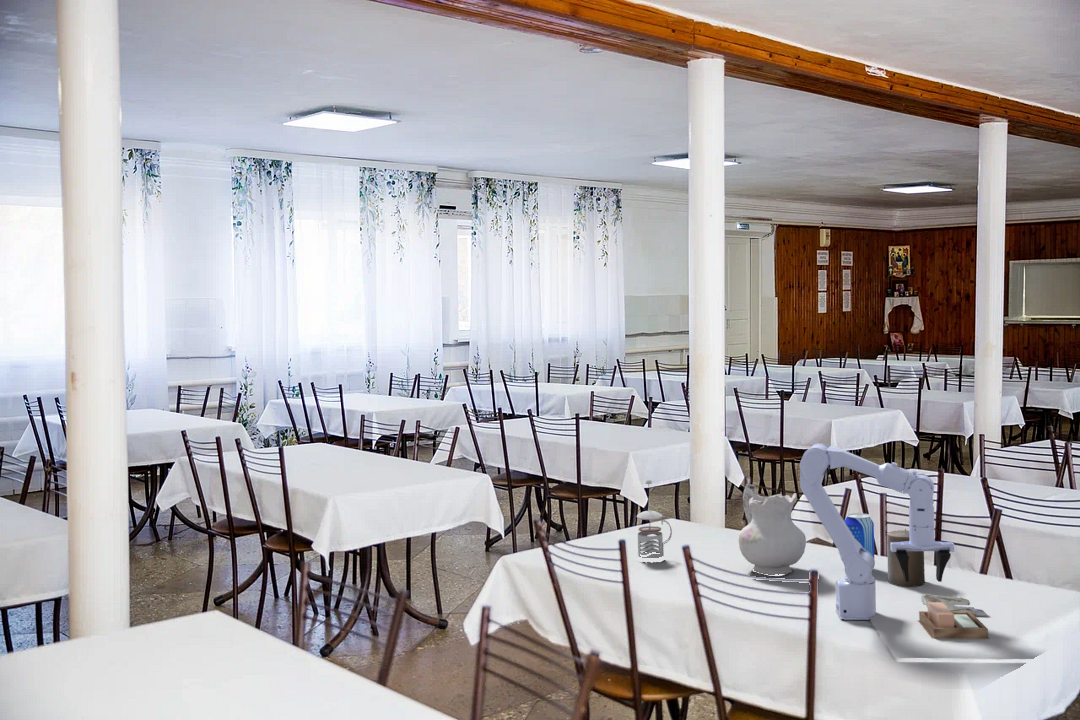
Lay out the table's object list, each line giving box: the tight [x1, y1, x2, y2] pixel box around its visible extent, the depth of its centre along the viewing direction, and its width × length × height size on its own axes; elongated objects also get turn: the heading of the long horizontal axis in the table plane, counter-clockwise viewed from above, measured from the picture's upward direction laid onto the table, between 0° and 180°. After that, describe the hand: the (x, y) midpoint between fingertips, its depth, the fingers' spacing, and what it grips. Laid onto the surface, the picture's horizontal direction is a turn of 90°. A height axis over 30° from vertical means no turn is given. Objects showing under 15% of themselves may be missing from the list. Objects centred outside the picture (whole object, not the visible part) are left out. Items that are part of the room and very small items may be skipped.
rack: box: [917, 610, 991, 640], centre depth 240 cm, size 13×14×3 cm
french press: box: [636, 479, 673, 558], centre depth 320 cm, size 10×12×25 cm
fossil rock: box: [921, 593, 991, 618], centre depth 258 cm, size 18×15×2 cm
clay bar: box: [927, 602, 954, 628], centre depth 240 cm, size 3×10×5 cm, turn 173°
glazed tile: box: [954, 614, 979, 628], centre depth 240 cm, size 3×10×2 cm, turn 173°
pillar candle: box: [886, 528, 926, 587], centre depth 285 cm, size 10×10×15 cm
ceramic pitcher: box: [738, 483, 807, 575], centre depth 302 cm, size 22×20×25 cm
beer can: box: [844, 512, 875, 559], centre depth 300 cm, size 8×8×16 cm
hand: (922, 580), depth 249 cm, fingers open, 7 cm apart
